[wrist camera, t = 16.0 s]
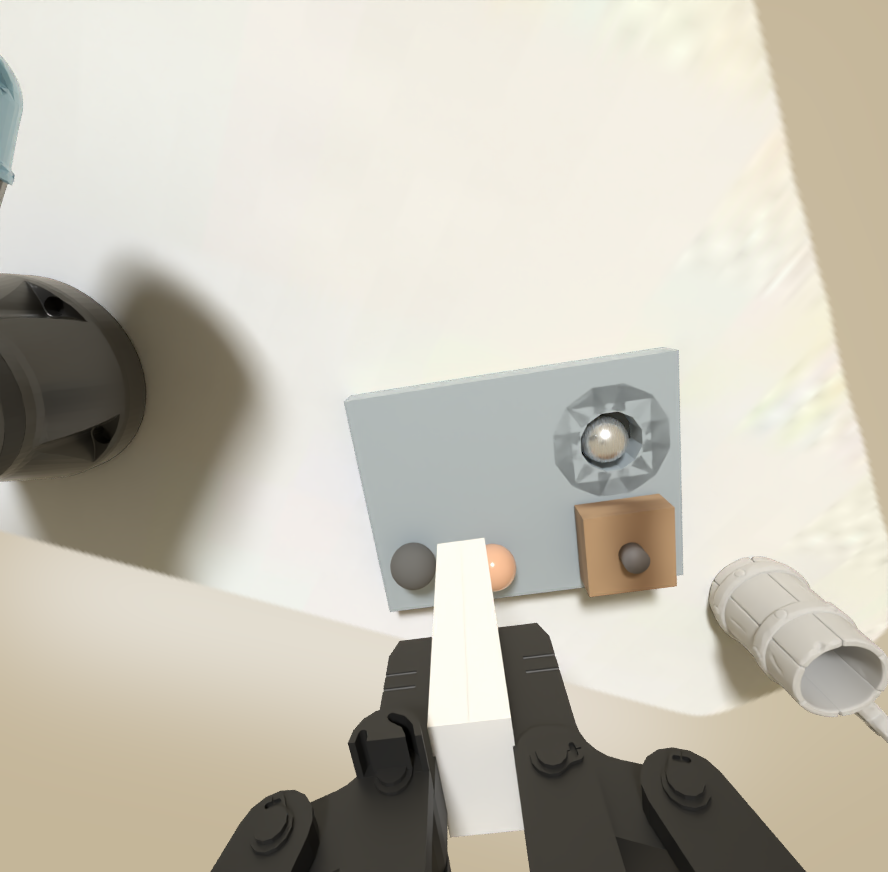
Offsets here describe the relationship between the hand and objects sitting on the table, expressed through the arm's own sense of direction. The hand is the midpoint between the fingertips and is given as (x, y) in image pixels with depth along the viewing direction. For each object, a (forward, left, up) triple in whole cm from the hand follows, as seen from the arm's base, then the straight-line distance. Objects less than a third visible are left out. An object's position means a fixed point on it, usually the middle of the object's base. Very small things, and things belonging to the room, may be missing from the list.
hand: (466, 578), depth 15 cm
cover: (+11, -11, -20) cm, 25 cm away
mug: (+24, -21, -23) cm, 39 cm away
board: (+4, -6, -22) cm, 23 cm away
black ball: (-5, -10, -18) cm, 21 cm away
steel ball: (+11, -3, -21) cm, 23 cm away
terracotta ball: (+1, -11, -18) cm, 21 cm away
